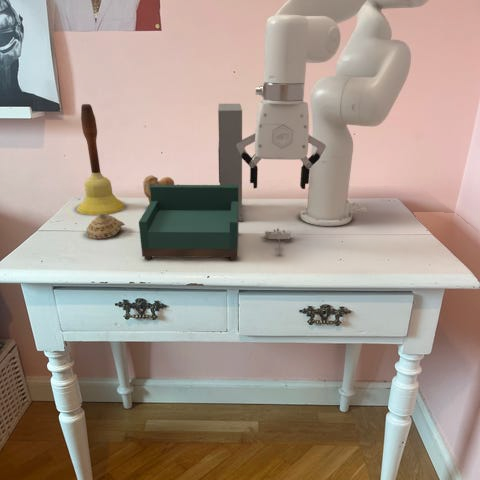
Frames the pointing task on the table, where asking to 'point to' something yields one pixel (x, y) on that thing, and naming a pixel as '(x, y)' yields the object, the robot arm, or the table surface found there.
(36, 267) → the table surface
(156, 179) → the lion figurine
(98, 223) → the seashell
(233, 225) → the sofa
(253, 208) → the table surface
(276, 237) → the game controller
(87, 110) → the handbell
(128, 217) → the table surface
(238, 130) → the tall grey pillar
